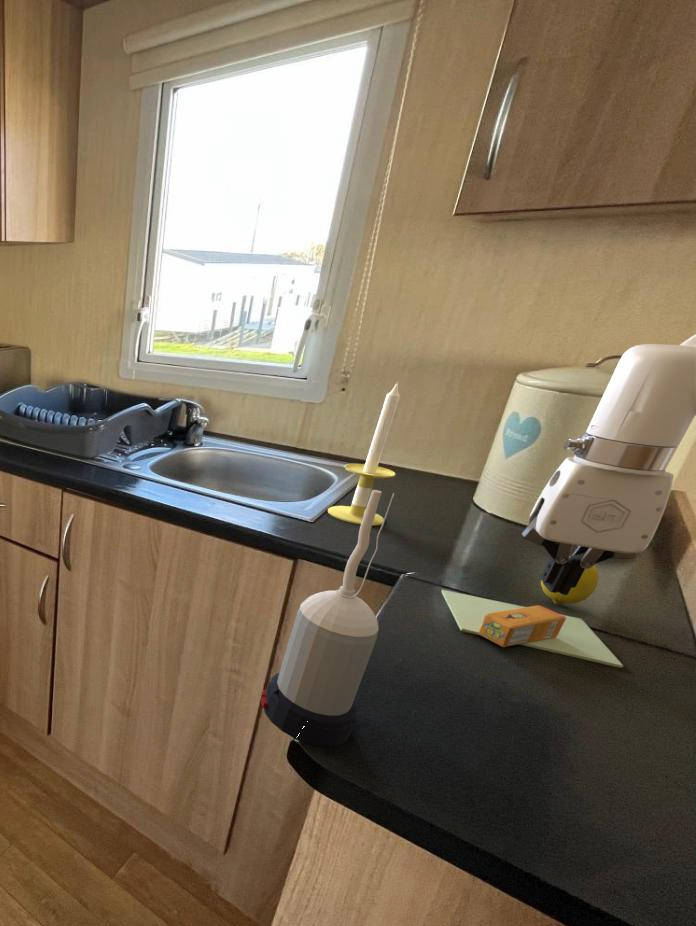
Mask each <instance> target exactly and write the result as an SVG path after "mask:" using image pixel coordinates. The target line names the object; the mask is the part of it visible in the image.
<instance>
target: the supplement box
mask: <svg viewBox="0 0 696 926" xmlns="http://www.w3.org/2000/svg"><path fill="white" fill-rule="evenodd" d="M524 607H525V608H519V609H512V610H506V611H500V612H494V613H488V614H485V616H484V620H483V623H482V626H481V629H480V631H479V635H478V636H480V637H483V638H485V639H486V640H489V641H490V642H492V643H495V644H497V645H498V646H500V647H502V648H508V647H511V646H517V645H519V644H523V643H528V642H534V641H539V640H544V639H549V638H554V637H557V636H558V634H559V632H560V630H561V628H562V626H563V624H564V622H565V620H566V617H565V616H566V615H565V616H563V615H564V614H561V613H558V612H556V611H553V610H551V609H550V608H547V607H544V606H542V605H539V604H538V605H532V606H524ZM560 614H561V615H560Z"/></svg>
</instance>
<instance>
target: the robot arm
mask: <svg viewBox="0 0 696 926" xmlns="http://www.w3.org/2000/svg"><path fill="white" fill-rule="evenodd" d="M695 417H696V333H695V334H694V335H692V336H691V337H689V338H687V339H686V340H685V341H683V342H681V343H680V344H665V343H663V344H662V343H642V344H636V345H634V346H632V347H630V348H628V349H627V350H626V351H625V352H623V354H622V355H621V357H620V359H619V360H618V362H617V364H616V367H615V369H614V371H613V373H612V375H611V377H610V380H609V382H608V383H607V386H606V388H605V390H604V392H603V394H602V397H601V398H600V401H599V403H598V405H597V407H596V410H595V411H594V413H593V416H592V418H591V420H590V422H589V425H588V427H587V429H586V431H585V432H582V434H581V436H580V437H576V438H570V437H569V438H567V439H566V440H565V442H564V444H563V449H564V450H569V451H572V452H573V454H574V456H567V457H566V458H565V459H564V460H563V462H562V463H561V464H560V465H559V467H557V469H556V470H555V472H554V473H553V474H552V476H551V478H550V479H549V480H548V481H547V484H546V485H545V487H544V488H543V490H542V491H541V493H540V495H539V497H538V498H537V500H536V502H535V504H534V506H533V508H532V510H531V512H530V514H529V516H528V522H527V523H528V525H527V527H525V528H524V530H523V531H522V532H521V533H520V536H521V538H522V539H524V541H526V542H528V543H531V544H534V545H536V546H539V547H542V548H543V549H544V550H545V551H546V553H547V555H548V556H549V559H548V561H547V563H546V565H545V567H544V569H543V571H542V573H541V576H540V581H541V580H542V581H543V584H544V586H545V587H546V588H547V589H548V590H549V591H550V592H553V593H557V592H559V593H560V594H563V595H568V593H569V591H570V589H571V588H575V587H576V585H577V583H578V581H579V580H580V578H581V576H582V574H583V572H584V570H585V569H589V568H591V567H592V566H593V565H594V566H595V564H599V563H602V562H604V561H607V560H609V559H614V560H625V559H626V560H633V559H635V558H636V557H637V556H638V553H641V552H644V551H645V550H646V549H647V548H648V547H649V545H650V543H651V542H652V540H653V538H654V536H655V534H656V532H657V530H658V528H659V525H660V523H661V521H662V517H663V516H664V513H665V510H666V507H667V504H668V501H669V498H670V495H671V490H672V487H673V482H674V477H675V475H674V474H673V473H671V472H670V471H669V472H668V471H666V470H667V468H668V467H669V464H670V462H671V461H672V459H673V457H674V455H675V453H676V451H677V450H678V448H679V446H680V444H681V442H682V441H683V438H684V436H685V435H686V433H687V431H688V429H689V428H690V426H691V424H692V422H693V421H694V418H695ZM573 546H577V547H576V548H575V550H574V551H573V552H572V550H573ZM571 552H572V553H571ZM569 557H570V558H569Z"/></svg>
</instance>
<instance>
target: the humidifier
mask: <svg viewBox="0 0 696 926" xmlns="http://www.w3.org/2000/svg"><path fill="white" fill-rule="evenodd" d="M382 493H383V492H382V491H381V490H377V489H372V490H371V493H370V496H369V499H368V502H367V505H366V508H365V510H366V511H365V514H364V517H363V520H362V523H361V525H360V527H359V531H358V537H357V544H356V546H355V547H354V549H353V551H352V553H351V554H350V556H349V558H348V559H347V562H346V565H345V568H344V572H343V578H342V585H341V586H339V588H338V589H336V590H325V591H320V592H316V593H313V594H311V595H310V596H308V597H307V598H306V599H305V600H303V601H302V602H301V603H300V607H299V608H298V610H297V613H296V616H295V618H294V619H295V620H294V623H293V626H292V630H291V633H290V636H289V640H288V643H287V646H286V651H285V653H284V657H283V660H282V662H281V663H282V664H281V667H280V671H279V672H277V673H275V675H273V676H272V677H271V679H270V680H269V682H268V685H267V688H266V689H265V688H263V690H262V693H261V696H260V702H261V706H262V709H263V712H264V714H265V716H266V717H267V718H268V720H269V721H270V723H272V724H273V725H274V726H275V727H276V728H277V729H278V730H280V731H281V732H283V733H285V734H286V735H288V736H290V737H291V738H293V739H295V740H298V741H300V742H303V743H306V744H309V745H313V746H317V747H322V748H323V747H325V748H326V747H338V746H340V745H343V744H345V743H346V742H347V741H348V739H349V738H350V736H351V734H352V731H353V728H354V726H355V723H356V720H357V712H358V711H357V710H358V709H357V705H356V703H355V698H356V696H357V692H358V690H359V688H360V685H361V682H362V680H363V676H364V674H365V671H366V668H367V666H368V664H369V660H370V658H371V655H372V653H373V650H374V647H375V644H376V642H377V639H378V632H379V630H380V629H379V621H378V618H377V616H376V614H375V613H374V611H373V610H372V608H371V607H370V606H369V605H368V603H366V602H365V600H363V599H361V598H360V597H358V596H357V595H358V594H359V593H360V592H361V591H362V588H363V586H364V583H365V581H366V578H367V576H368V573H369V569H370V567H371V564H372V562H373V560H374V558H375V557H376V555H377V552H378V550H379V537H380V534H381V532H382V529H383V528H384V526H385V522H386V520H387V516H388V513H389V510H390V508H391V504H392V501H393V499H394V496H395V493H394V492H393V493H392V496H391V498H390V501H389V504H388V507H387V510H386V513H385V514H384V515H385V516H384V517H383V518H384V521H383V524H381V526H380V528H379V530H378V533H377V536H376V548H375V551H374V553H373V555H372V557H371V558H370V561H369V563H368V566H367V568H366V571H365V574H364V577H363V580H362V583H361V585H360V587H359V589H358V591H357V592H356V590H355V583H356V576H357V571H358V567H359V565H360V562H361V561H362V558H363V557H364V556H365V554H366V552H367V550H368V548H369V544H370V537H371V530H372V527H373V526H372V523H373V520H374V517H375V513H376V514H377V509H378V506H379V502H380V500H381V497H382ZM307 721H308V722H307ZM303 726H305V727H304V728H303ZM302 728H303V729H302ZM299 733H300V734H299ZM298 734H299V736H298ZM297 736H298V737H297ZM296 737H297V738H296Z"/></svg>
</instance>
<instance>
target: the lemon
mask: <svg viewBox="0 0 696 926" xmlns="http://www.w3.org/2000/svg"><path fill="white" fill-rule="evenodd" d="M569 558H570V557H569ZM598 583H599V571H598V568H597V566H596V565H595V564H594V565H593V566H592V567H591V568H589V569H585V570H584V572H583V574H582V576H581V578H580V580H579V581H578V583H577V585H576V587H575V588H571V589H570V591H569V593H568V595H563V594H560V593H559V592H557V593H553V592H550V591H549V590H548V589H547V588H546V587H545V586H544V584H543V581H542V580H541V579H540V586H541V589H542V592H543V593H544V594H545V595H546V596H547V597H548V598H550V599H551V600H552V602H553V603H554V604H555V605H559V606H560V605H563V604H575V603H580V602H582V601H584V600H587V599H588V598H589V597H590V596H591V595H592V594H593V593H594V592H595V590H596V589H597V586H598Z"/></svg>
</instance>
